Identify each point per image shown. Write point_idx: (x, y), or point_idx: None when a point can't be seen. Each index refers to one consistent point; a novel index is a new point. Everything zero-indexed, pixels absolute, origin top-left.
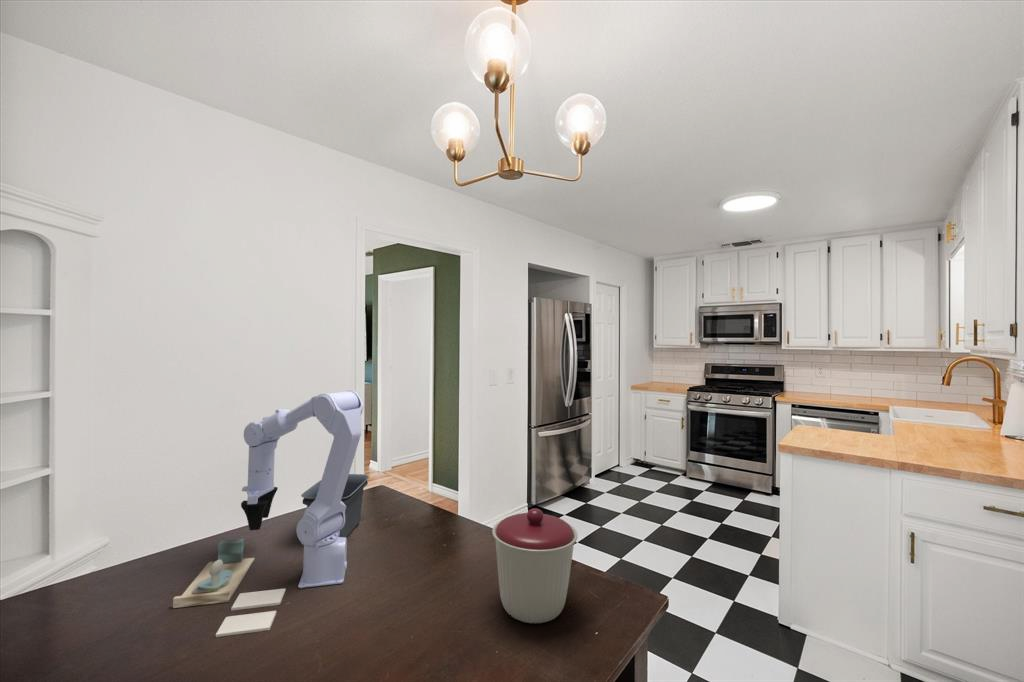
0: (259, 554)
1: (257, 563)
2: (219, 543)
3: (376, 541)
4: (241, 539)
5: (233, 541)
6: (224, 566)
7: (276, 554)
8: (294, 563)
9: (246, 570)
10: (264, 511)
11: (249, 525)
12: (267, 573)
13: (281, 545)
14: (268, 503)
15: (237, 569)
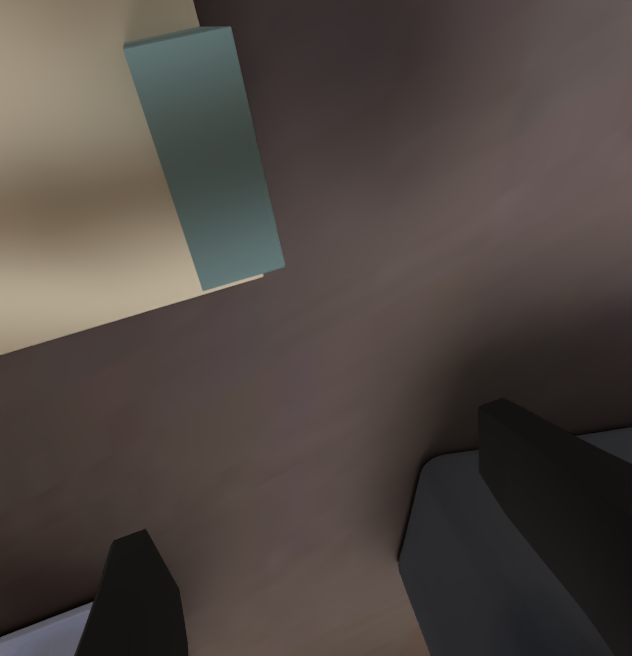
0: (340, 256)
1: (211, 316)
2: (139, 55)
3: (424, 643)
4: (265, 253)
5: (212, 199)
6: (101, 129)
7: (334, 356)
8: (223, 497)
9: (66, 334)
10: (529, 501)
11: (95, 604)
12: (88, 442)
13: (451, 318)
14: (605, 613)
15: (71, 263)
